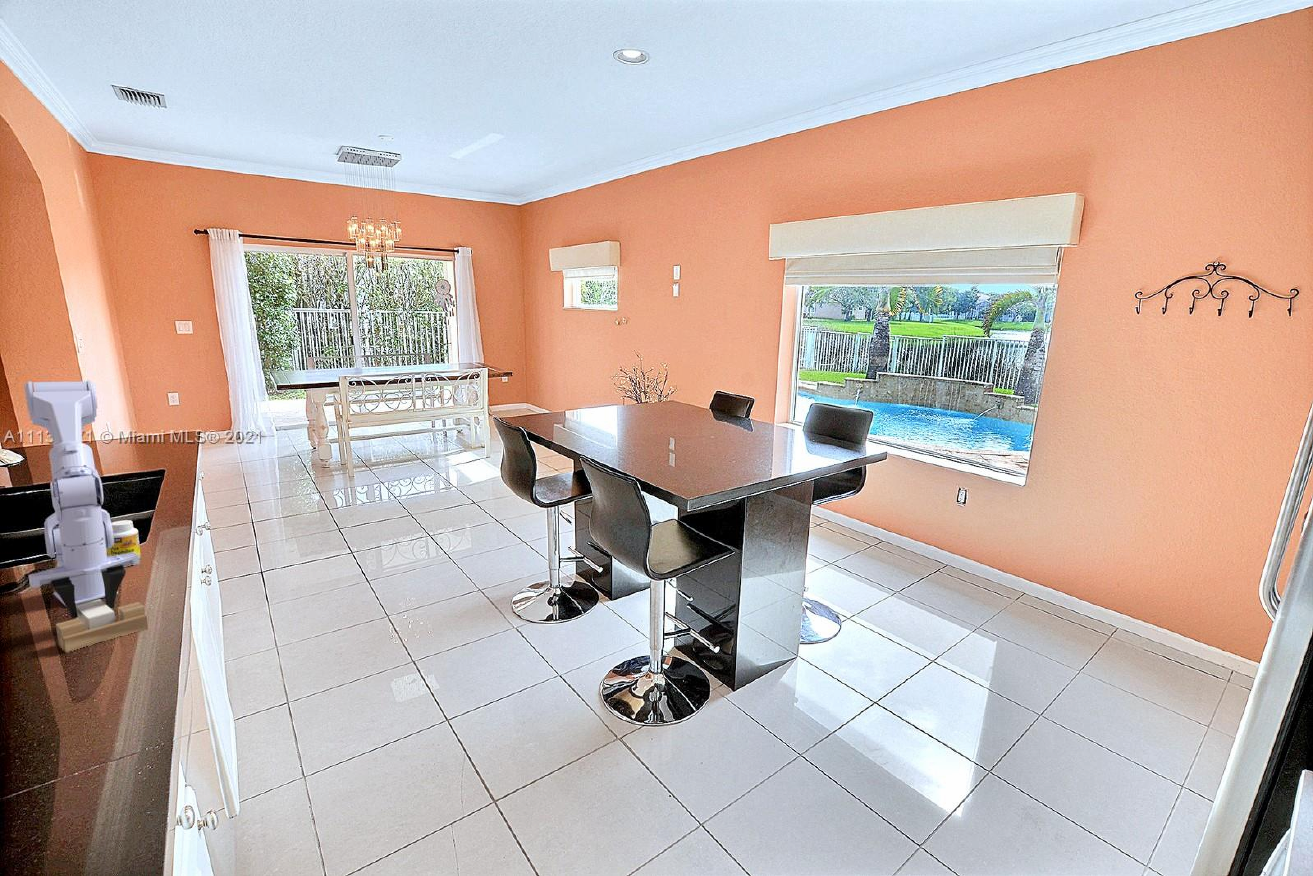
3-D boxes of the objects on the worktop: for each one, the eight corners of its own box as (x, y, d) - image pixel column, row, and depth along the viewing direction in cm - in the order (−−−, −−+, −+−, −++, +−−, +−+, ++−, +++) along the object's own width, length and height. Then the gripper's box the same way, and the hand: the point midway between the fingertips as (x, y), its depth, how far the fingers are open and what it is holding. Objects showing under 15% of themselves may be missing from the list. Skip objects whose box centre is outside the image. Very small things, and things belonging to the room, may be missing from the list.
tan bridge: (58, 645, 103) (55, 624, 103) (140, 621, 113) (138, 602, 112) (65, 653, 101) (62, 631, 101) (148, 628, 110) (146, 608, 110)
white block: (77, 625, 111) (74, 605, 110) (102, 619, 113) (99, 599, 113) (91, 639, 106) (88, 618, 105) (116, 632, 109) (114, 611, 108)
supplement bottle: (107, 570, 135) (102, 527, 134) (112, 562, 140) (107, 520, 138) (139, 566, 138) (134, 524, 137) (143, 558, 143) (138, 517, 141)
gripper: (32, 557, 100) (42, 632, 102) (141, 535, 112) (149, 603, 114) (21, 548, 104) (32, 621, 106) (129, 528, 115) (136, 594, 118)
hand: (92, 611), depth 110 cm, fingers open, 4 cm apart
